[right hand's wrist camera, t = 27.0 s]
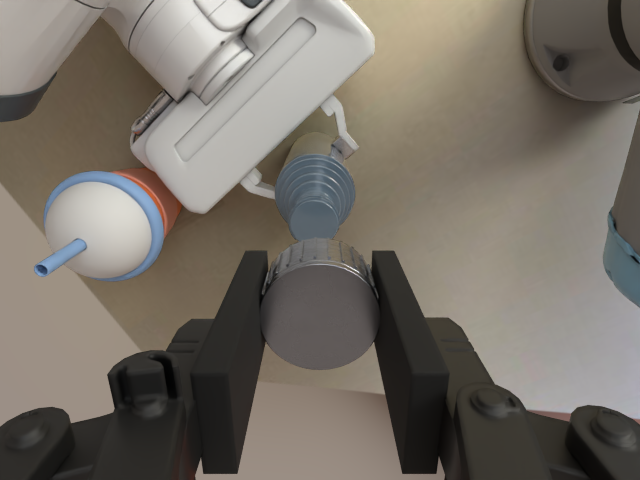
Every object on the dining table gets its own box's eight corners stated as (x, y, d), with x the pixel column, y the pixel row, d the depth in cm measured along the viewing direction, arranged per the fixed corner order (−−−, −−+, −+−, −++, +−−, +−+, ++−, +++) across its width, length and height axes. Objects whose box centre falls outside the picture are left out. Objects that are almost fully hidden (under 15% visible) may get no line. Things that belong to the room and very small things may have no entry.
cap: (275, 338, 15) (269, 378, 13) (256, 243, 14) (245, 270, 12) (378, 326, 15) (387, 364, 13) (368, 228, 14) (376, 253, 12)
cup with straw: (127, 246, 44) (8, 345, 27) (93, 163, 41) (-67, 216, 24) (209, 228, 43) (138, 319, 26) (180, 142, 40) (79, 182, 23)
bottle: (322, 120, 39) (327, 151, 20) (353, 166, 41) (384, 236, 22) (278, 152, 40) (241, 211, 21) (309, 195, 42) (302, 288, 23)
